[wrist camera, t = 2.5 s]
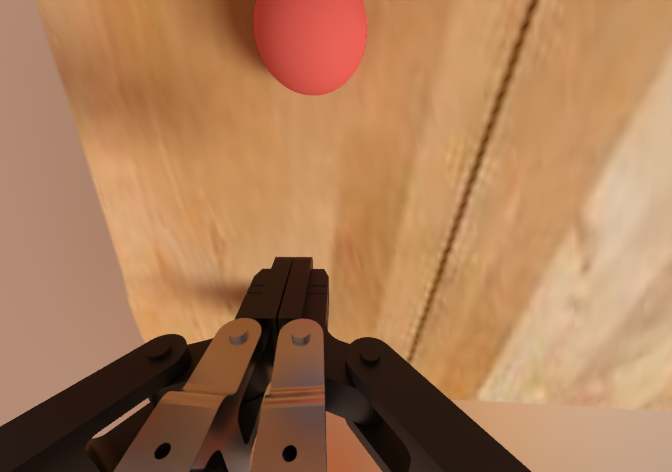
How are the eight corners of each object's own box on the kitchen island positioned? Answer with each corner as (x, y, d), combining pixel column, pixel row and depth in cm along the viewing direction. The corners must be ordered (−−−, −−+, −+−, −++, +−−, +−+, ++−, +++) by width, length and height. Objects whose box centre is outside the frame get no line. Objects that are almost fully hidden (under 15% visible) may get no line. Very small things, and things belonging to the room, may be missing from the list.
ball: (346, -42, 16) (346, -103, 11) (375, 73, 19) (387, 70, 13) (252, 4, 17) (210, -31, 12) (292, 107, 20) (273, 115, 14)
